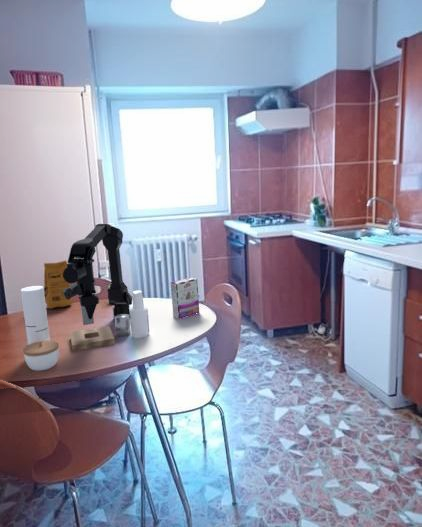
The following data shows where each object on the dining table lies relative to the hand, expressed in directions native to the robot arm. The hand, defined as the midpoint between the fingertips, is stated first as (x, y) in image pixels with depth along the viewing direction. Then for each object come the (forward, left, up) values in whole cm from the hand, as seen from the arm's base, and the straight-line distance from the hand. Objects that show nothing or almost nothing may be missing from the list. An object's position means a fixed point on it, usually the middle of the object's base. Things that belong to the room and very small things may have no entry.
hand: (89, 317), depth 158 cm
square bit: (+1, 0, -2) cm, 2 cm away
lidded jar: (+17, +16, -10) cm, 26 cm away
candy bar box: (-41, -13, -10) cm, 44 cm away
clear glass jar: (-12, -2, -10) cm, 16 cm away
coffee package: (+11, -60, -10) cm, 61 cm away
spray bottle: (-18, +2, -10) cm, 21 cm away
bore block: (0, 0, -10) cm, 10 cm away
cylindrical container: (+18, +6, -10) cm, 22 cm away
